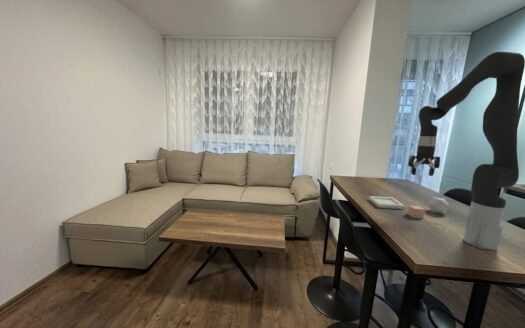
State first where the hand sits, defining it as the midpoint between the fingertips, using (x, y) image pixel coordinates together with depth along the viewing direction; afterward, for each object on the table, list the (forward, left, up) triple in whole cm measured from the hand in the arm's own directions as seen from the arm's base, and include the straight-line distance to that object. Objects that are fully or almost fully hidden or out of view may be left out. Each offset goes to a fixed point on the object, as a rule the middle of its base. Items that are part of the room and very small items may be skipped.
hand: (422, 175), depth 117 cm
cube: (-6, +4, -21) cm, 22 cm away
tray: (+10, +12, -21) cm, 26 cm away
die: (+2, -12, -21) cm, 25 cm away
